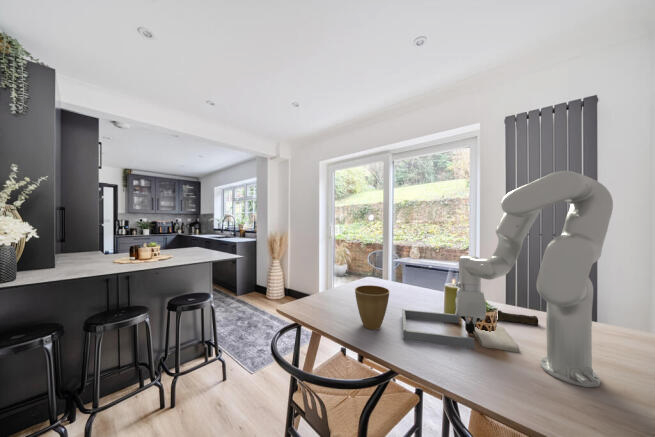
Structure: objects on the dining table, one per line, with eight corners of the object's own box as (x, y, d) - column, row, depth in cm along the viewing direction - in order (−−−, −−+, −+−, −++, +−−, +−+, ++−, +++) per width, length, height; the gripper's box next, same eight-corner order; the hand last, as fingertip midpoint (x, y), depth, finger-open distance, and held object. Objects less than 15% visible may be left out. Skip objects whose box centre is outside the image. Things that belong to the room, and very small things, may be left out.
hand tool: (535, 323, 105) (535, 313, 105) (539, 327, 101) (539, 316, 101) (485, 316, 113) (484, 306, 113) (486, 319, 110) (486, 309, 110)
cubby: (474, 349, 85) (474, 339, 85) (403, 339, 92) (403, 330, 92) (458, 322, 106) (458, 314, 106) (402, 316, 113) (402, 309, 113)
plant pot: (388, 336, 94) (388, 296, 94) (351, 331, 99) (351, 293, 99) (391, 321, 108) (390, 286, 108) (358, 317, 113) (358, 283, 113)
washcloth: (501, 331, 99) (501, 323, 99) (521, 354, 82) (521, 345, 82) (469, 327, 103) (469, 320, 103) (481, 348, 86) (481, 340, 86)
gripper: (451, 288, 93) (451, 334, 94) (494, 291, 89) (495, 339, 89) (447, 283, 101) (447, 326, 101) (487, 285, 96) (487, 330, 97)
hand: (470, 332), depth 95 cm, fingers closed
